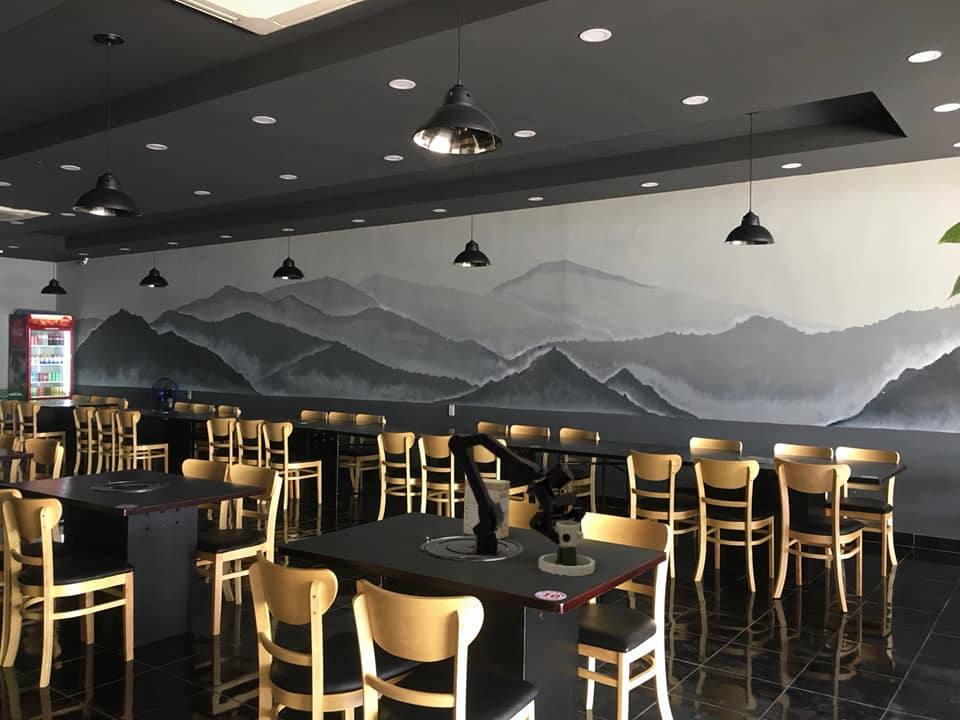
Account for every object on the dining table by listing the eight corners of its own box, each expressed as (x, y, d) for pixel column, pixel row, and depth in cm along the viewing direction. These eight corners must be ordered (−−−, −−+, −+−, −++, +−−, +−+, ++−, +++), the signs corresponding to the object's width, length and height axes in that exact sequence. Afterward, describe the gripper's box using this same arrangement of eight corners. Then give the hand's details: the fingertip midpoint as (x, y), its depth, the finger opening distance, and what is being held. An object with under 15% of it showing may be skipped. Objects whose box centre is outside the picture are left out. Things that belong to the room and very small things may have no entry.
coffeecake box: (508, 536, 264) (510, 480, 265) (497, 539, 259) (499, 482, 259) (474, 530, 273) (476, 476, 273) (462, 533, 267) (464, 478, 268)
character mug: (544, 565, 224) (546, 521, 224) (558, 560, 229) (560, 518, 229) (574, 573, 217) (576, 528, 217) (588, 568, 222) (590, 524, 222)
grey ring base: (548, 576, 213) (549, 567, 213) (533, 562, 229) (533, 554, 229) (602, 575, 217) (602, 566, 217) (583, 561, 232) (583, 553, 232)
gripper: (536, 484, 221) (560, 529, 212) (582, 481, 232) (607, 523, 223) (518, 507, 227) (541, 551, 218) (564, 502, 238) (588, 544, 229)
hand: (570, 542), depth 222 cm, fingers open, 9 cm apart
